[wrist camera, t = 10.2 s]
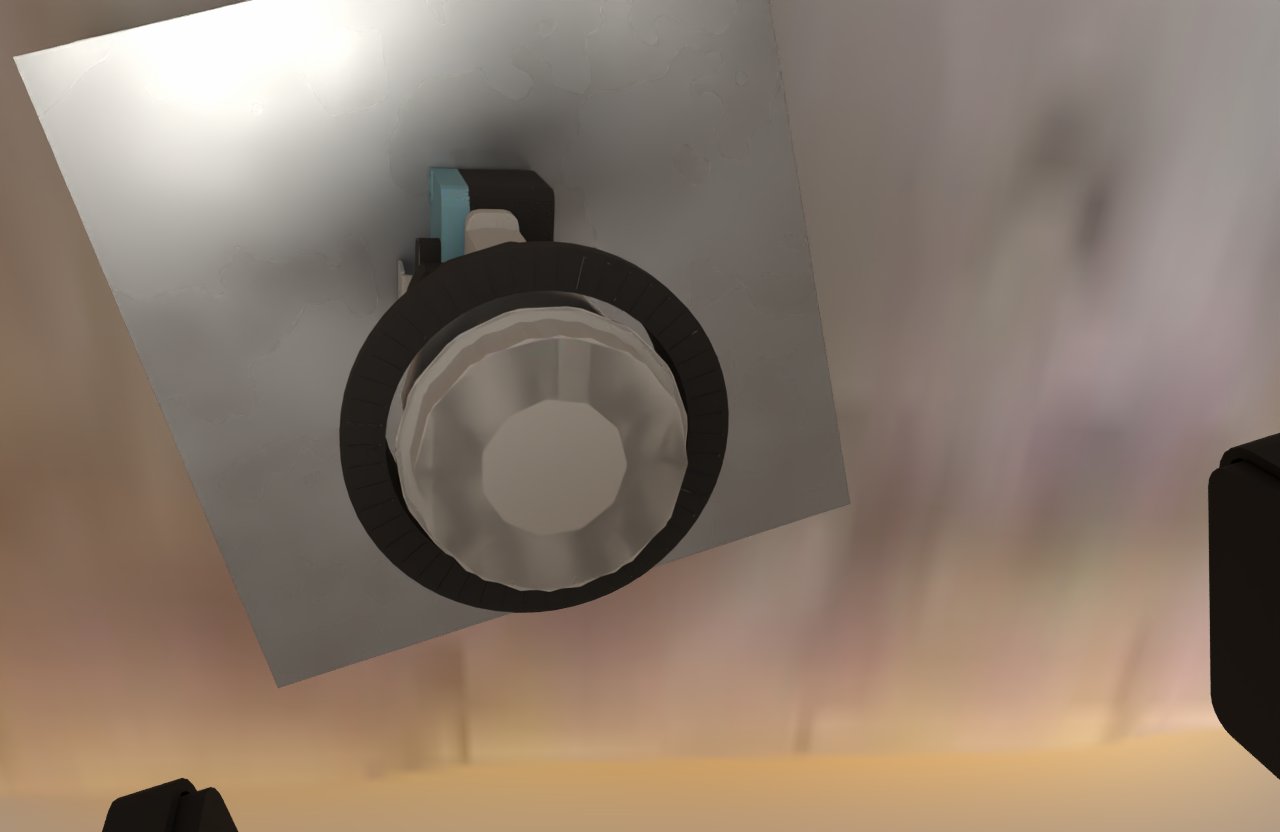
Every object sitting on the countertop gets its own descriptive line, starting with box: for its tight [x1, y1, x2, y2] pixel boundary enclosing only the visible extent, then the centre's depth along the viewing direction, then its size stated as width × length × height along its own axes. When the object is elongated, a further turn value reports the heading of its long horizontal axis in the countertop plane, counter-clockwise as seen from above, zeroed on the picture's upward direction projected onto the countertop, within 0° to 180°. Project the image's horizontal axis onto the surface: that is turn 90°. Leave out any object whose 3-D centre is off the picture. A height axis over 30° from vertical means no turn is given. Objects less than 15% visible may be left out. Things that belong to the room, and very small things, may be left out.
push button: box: [339, 168, 729, 613], centre depth 20 cm, size 7×5×10 cm
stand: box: [13, 0, 850, 688], centre depth 27 cm, size 14×14×6 cm
